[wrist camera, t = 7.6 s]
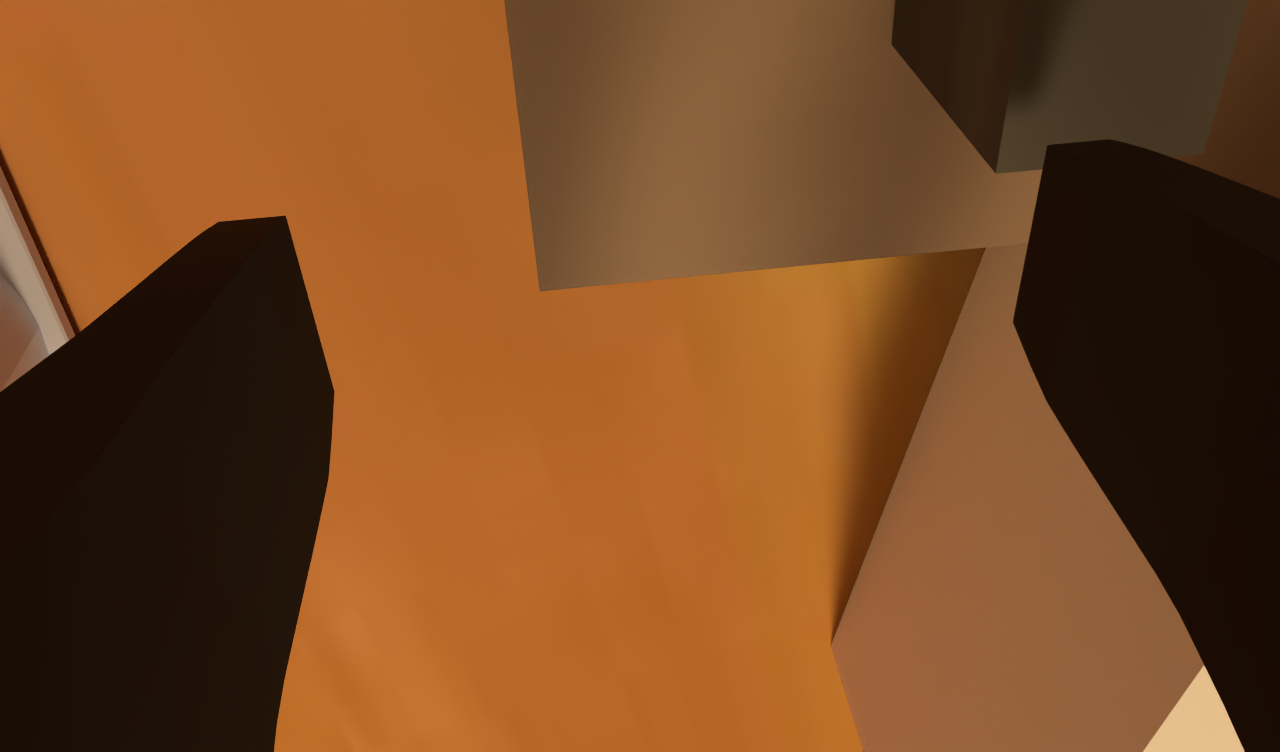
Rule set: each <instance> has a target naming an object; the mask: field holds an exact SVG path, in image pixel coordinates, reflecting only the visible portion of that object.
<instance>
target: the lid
mask: <svg viewBox="0 0 1280 752" xmlns="http://www.w3.org/2000/svg"><path fill="white" fill-rule="evenodd" d="M504 1H505V9H506V18H507V26H508V34H509V42H510V50H511V59H512V67H513V75H514V83H515V91H516V100H517V108H518V116H519V124H520V132H521V140H522V149H523V157H524V165H525V173H526V181H527V190H528V198H529V206H530V214H531V222H532V231H533V239H534V247H535V255H536V263H537V271H538V280H539V288H540V291H547V290H558V289H568V288H578V287H588V286H598V285H609V284H619V283H629V282H639V281H649V280H659V279H670V278H680V277H690V276H700V275H710V274H721V273H731V272H741V271H751V270H761V269H772V268H782V267H792V266H802V265H812V264H822V263H833V262H843V261H853V260H863V259H873V258H884V257H894V256H904V255H914V254H924V253H934V252H945V251H955V250H965V249H975V248H985V247H996V246H1006V245H1016V244H1026V243H1028V241H1029V236H1030V231H1031V226H1032V220H1033V215H1034V210H1035V205H1036V200H1037V195H1038V190H1039V185H1040V179H1041V174H1042V169H1043V164H1044V159H1045V154H1046V149H1047V145H1052V144H1063V143H1074V142H1085V141H1095V140H1106V139H1111V140H1115V141H1120V142H1124V143H1128V144H1132V145H1135V146H1139V147H1142V148H1146V149H1149V150H1152V151H1155V152H1158V153H1161V154H1164V155H1166V156H1169V157H1172V158H1175V159H1178V160H1181V161H1183V162H1186V163H1189V164H1191V165H1194V166H1197V167H1199V168H1202V169H1205V170H1207V171H1210V172H1212V173H1215V174H1217V175H1220V176H1223V177H1225V178H1228V179H1230V180H1233V181H1236V182H1238V183H1241V184H1243V185H1246V186H1248V187H1251V188H1253V189H1256V190H1259V191H1261V192H1264V193H1266V194H1269V195H1271V196H1274V197H1277V198H1279V199H1280V0H504Z"/></svg>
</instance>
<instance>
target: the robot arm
mask: <svg viewBox="0 0 1280 752" xmlns="http://www.w3.org/2000/svg"><path fill="white" fill-rule="evenodd" d="M1013 324H1014V327H1015V329H1016V331H1017V334H1018V336H1019V339H1020V341H1021V344H1022V346H1023V349H1024V351H1025V354H1026V356H1027V359H1028V361H1029V364H1030V366H1031V368H1032V371H1033V373H1034V375H1035V377H1036V379H1037V381H1038V384H1039V386H1040V388H1041V390H1042V392H1043V395H1044V397H1045V399H1046V401H1047V403H1048V405H1049V406H1050V408H1051V410H1052V411H1053V413H1054V415H1055V416H1056V418H1057V420H1058V421H1059V423H1060V425H1061V426H1062V428H1063V429H1064V431H1065V433H1066V434H1067V436H1068V437H1069V439H1070V441H1071V442H1072V444H1073V445H1074V447H1075V449H1076V450H1077V452H1078V453H1079V455H1080V457H1081V458H1082V460H1083V461H1084V463H1085V465H1086V466H1087V468H1088V469H1089V471H1090V472H1091V474H1092V475H1093V477H1094V479H1095V480H1096V482H1097V483H1098V485H1099V486H1100V488H1101V489H1102V491H1103V493H1104V494H1105V496H1106V497H1107V499H1108V500H1109V502H1110V503H1111V505H1112V507H1113V508H1114V510H1115V511H1116V513H1117V514H1118V516H1119V517H1120V519H1121V521H1122V522H1123V524H1124V525H1125V527H1126V528H1127V530H1128V531H1129V533H1130V535H1131V536H1132V538H1133V539H1134V541H1135V542H1136V544H1137V545H1138V547H1139V549H1140V550H1141V552H1142V553H1143V555H1144V556H1145V558H1146V560H1147V561H1148V563H1149V564H1150V566H1151V567H1152V569H1153V570H1154V572H1155V574H1156V575H1157V577H1158V579H1159V580H1160V582H1161V584H1162V585H1163V587H1164V589H1165V591H1166V592H1167V594H1168V596H1169V598H1170V599H1171V601H1172V603H1173V605H1174V606H1175V608H1176V610H1177V611H1178V613H1179V615H1180V617H1181V619H1182V621H1183V623H1184V625H1185V627H1186V629H1187V631H1188V633H1189V635H1190V637H1191V639H1192V641H1193V643H1194V645H1195V647H1196V649H1197V652H1198V654H1199V656H1200V658H1201V660H1202V662H1203V664H1204V666H1205V668H1206V670H1207V672H1208V674H1209V676H1210V678H1211V680H1212V682H1213V684H1214V686H1215V688H1216V690H1217V692H1218V695H1219V697H1220V699H1221V701H1222V703H1223V705H1224V707H1225V709H1226V711H1227V714H1228V716H1229V718H1230V720H1231V723H1232V725H1233V727H1234V729H1235V732H1236V734H1237V736H1238V738H1239V740H1240V743H1241V745H1242V747H1243V749H1244V752H1280V199H1279V198H1277V197H1274V196H1271V195H1269V194H1266V193H1264V192H1261V191H1259V190H1256V189H1253V188H1251V187H1248V186H1246V185H1243V184H1241V183H1238V182H1236V181H1233V180H1230V179H1228V178H1225V177H1223V176H1220V175H1217V174H1215V173H1212V172H1210V171H1207V170H1205V169H1202V168H1199V167H1197V166H1194V165H1191V164H1189V163H1186V162H1183V161H1181V160H1178V159H1175V158H1172V157H1169V156H1166V155H1164V154H1161V153H1158V152H1155V151H1152V150H1149V149H1146V148H1142V147H1139V146H1135V145H1132V144H1128V143H1124V142H1120V141H1115V140H1111V139H1106V140H1095V141H1085V142H1074V143H1063V144H1052V145H1047V149H1046V154H1045V159H1044V164H1043V169H1042V174H1041V179H1040V185H1039V190H1038V195H1037V200H1036V205H1035V210H1034V215H1033V220H1032V226H1031V231H1030V236H1029V241H1028V246H1027V251H1026V256H1025V261H1024V267H1023V272H1022V277H1021V282H1020V287H1019V292H1018V297H1017V302H1016V308H1015V313H1014V318H1013ZM333 404H334V389H333V385H332V382H331V378H330V374H329V371H328V367H327V363H326V360H325V356H324V353H323V349H322V345H321V342H320V338H319V335H318V331H317V327H316V324H315V320H314V316H313V313H312V309H311V306H310V302H309V298H308V295H307V291H306V288H305V284H304V280H303V277H302V273H301V270H300V266H299V262H298V259H297V255H296V251H295V248H294V244H293V241H292V237H291V233H290V230H289V226H288V223H287V219H286V216H277V217H267V218H256V219H245V220H234V221H224V222H218V223H216V224H215V225H213V226H212V227H210V228H208V229H207V230H205V231H204V232H203V233H201V234H200V235H198V236H197V237H196V238H194V239H193V240H192V241H191V242H189V243H188V244H187V245H186V246H184V247H183V248H182V249H181V250H179V251H178V252H177V253H176V254H174V255H173V256H172V257H171V258H170V259H168V260H167V261H166V262H165V263H163V264H162V265H161V266H160V267H159V268H157V269H156V270H155V271H154V272H153V273H151V274H150V275H149V276H148V277H147V278H145V279H144V280H143V281H142V282H141V283H139V284H138V285H137V286H136V287H135V288H133V289H132V290H131V291H130V292H129V293H127V294H126V295H125V296H124V297H122V298H121V299H120V300H119V301H118V302H116V303H115V304H114V305H113V306H111V307H110V308H109V309H108V310H107V311H105V312H104V313H103V314H102V315H101V316H99V317H98V318H97V319H96V320H94V321H93V322H92V323H91V324H90V325H88V326H87V327H86V328H85V329H83V330H82V331H81V332H80V333H78V334H77V335H76V336H75V334H74V332H73V329H72V327H71V325H70V322H69V320H68V318H67V316H66V313H65V311H64V309H63V307H62V304H61V302H60V300H59V298H58V295H57V293H56V291H55V289H54V286H53V284H52V282H51V280H50V277H49V275H48V273H47V271H46V268H45V266H44V264H43V261H42V259H41V257H40V255H39V252H38V250H37V248H36V246H35V243H34V241H33V239H32V237H31V234H30V232H29V230H28V228H27V225H26V223H25V221H24V219H23V216H22V214H21V212H20V210H19V207H18V205H17V203H16V201H15V198H14V196H13V194H12V191H11V189H10V187H9V185H8V182H7V180H6V178H5V176H4V173H3V171H2V169H1V167H0V752H274V744H275V735H276V726H277V719H278V713H279V707H280V702H281V696H282V690H283V684H284V679H285V674H286V669H287V665H288V660H289V656H290V651H291V647H292V643H293V638H294V634H295V629H296V625H297V620H298V616H299V611H300V607H301V602H302V598H303V593H304V589H305V584H306V580H307V576H308V571H309V567H310V562H311V558H312V553H313V549H314V544H315V539H316V535H317V530H318V526H319V521H320V516H321V512H322V507H323V502H324V497H325V493H326V488H327V483H328V476H329V464H330V452H331V440H332V422H333Z"/></svg>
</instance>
